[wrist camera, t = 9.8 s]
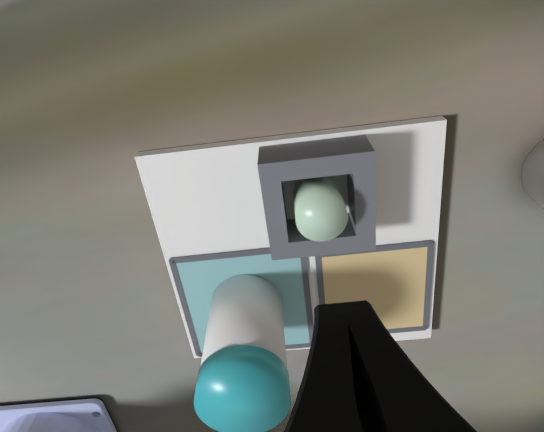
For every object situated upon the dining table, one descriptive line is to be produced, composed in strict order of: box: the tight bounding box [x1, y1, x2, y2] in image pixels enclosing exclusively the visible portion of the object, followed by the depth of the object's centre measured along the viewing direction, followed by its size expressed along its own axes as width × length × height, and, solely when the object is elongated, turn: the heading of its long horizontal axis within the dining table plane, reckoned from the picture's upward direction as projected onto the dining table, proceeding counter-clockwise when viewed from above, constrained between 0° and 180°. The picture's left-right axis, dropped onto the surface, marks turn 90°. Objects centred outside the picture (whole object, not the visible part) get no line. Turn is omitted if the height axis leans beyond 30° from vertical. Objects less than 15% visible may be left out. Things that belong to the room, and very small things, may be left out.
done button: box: [293, 176, 348, 242], centre depth 17 cm, size 2×2×2 cm
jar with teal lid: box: [194, 275, 291, 432], centre depth 19 cm, size 4×4×6 cm
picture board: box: [135, 116, 447, 358], centre depth 20 cm, size 12×13×3 cm
